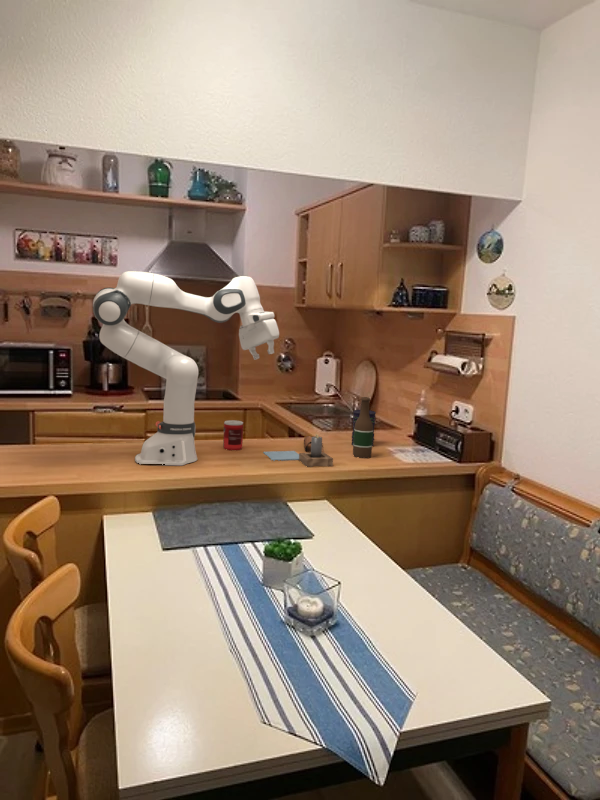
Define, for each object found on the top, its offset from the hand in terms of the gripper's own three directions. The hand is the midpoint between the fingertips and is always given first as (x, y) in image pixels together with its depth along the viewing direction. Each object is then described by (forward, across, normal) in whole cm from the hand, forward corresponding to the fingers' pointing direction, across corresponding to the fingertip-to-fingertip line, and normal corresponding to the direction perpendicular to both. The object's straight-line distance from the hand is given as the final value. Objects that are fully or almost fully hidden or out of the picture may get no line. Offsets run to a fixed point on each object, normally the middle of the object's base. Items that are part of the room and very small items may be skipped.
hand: (264, 356), depth 223 cm
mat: (+39, -15, +7) cm, 42 cm away
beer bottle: (+48, -1, +34) cm, 59 cm away
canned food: (+31, -35, -2) cm, 47 cm away
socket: (+44, -1, +10) cm, 45 cm away
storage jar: (+47, -16, +50) cm, 71 cm away
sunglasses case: (+42, -22, +28) cm, 55 cm away
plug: (+44, -1, +10) cm, 45 cm away
